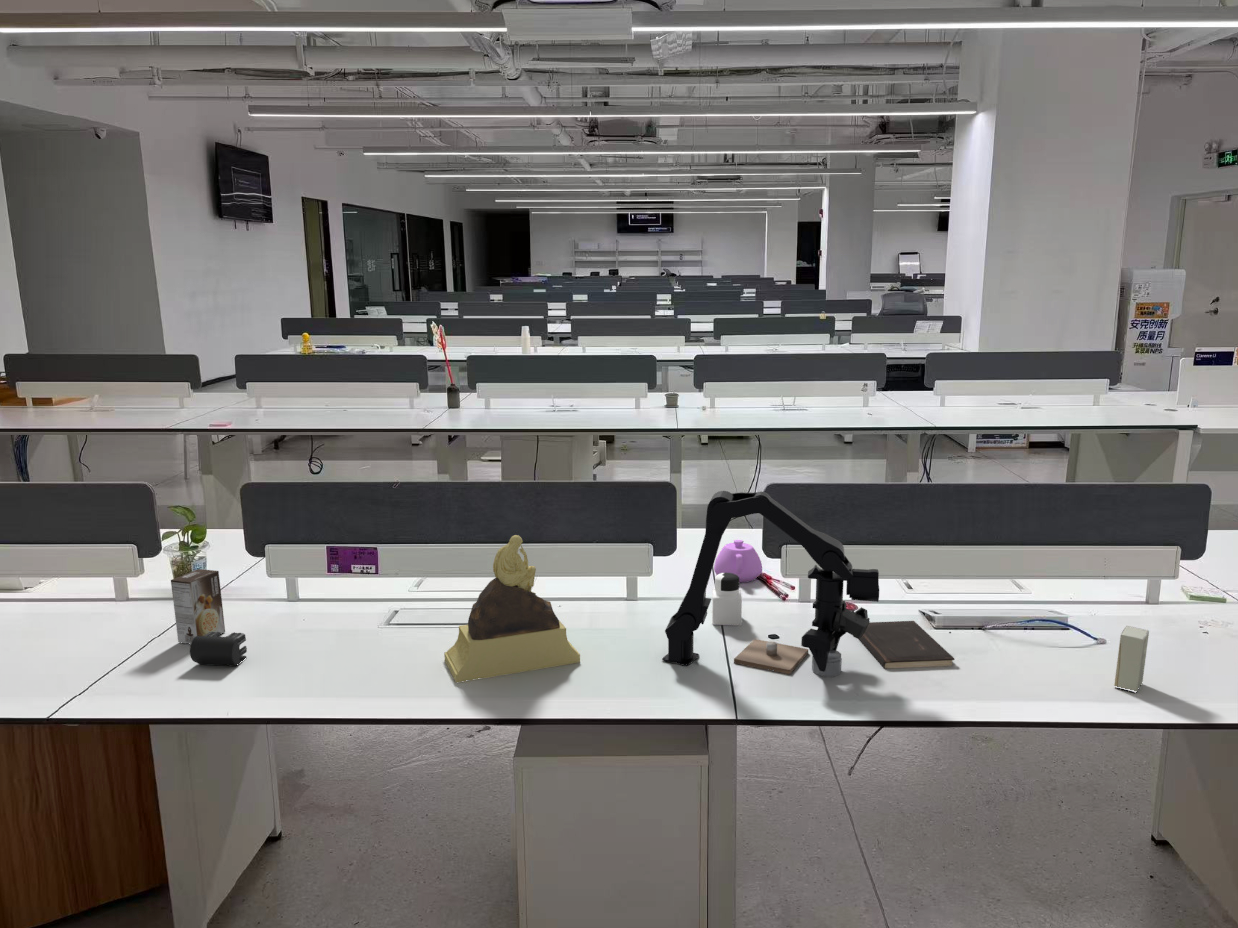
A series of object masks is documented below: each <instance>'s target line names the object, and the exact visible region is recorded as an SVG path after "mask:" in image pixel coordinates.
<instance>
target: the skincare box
mask: <svg viewBox="0 0 1238 928" xmlns="http://www.w3.org/2000/svg"><path fill="white" fill-rule="evenodd" d="M1149 636H1150V630H1149V629H1145V628H1139V627H1135V626H1130V625H1126V626H1125V627H1124V629H1123V630H1122V632H1121V633H1120V637H1119V644H1118V645H1119V646H1118V652H1117V661H1116V670H1115V679H1114V684H1113V687H1114V686H1117V687H1121V688H1125V689H1130V690H1134V691H1137V690H1138V688H1139V687H1140V685H1141V684H1142V685H1143V683H1144V682H1143V681H1144V673H1145V666H1146V659H1147V652H1148V651H1147V649H1148V645H1149V644H1148V643H1149ZM1142 682H1143V683H1142ZM1142 685H1141V686H1142ZM1140 688H1141V687H1140ZM1138 691H1139V690H1138Z"/></svg>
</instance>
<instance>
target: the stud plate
mask: <svg viewBox="0 0 1238 928" xmlns="http://www.w3.org/2000/svg"><path fill="white" fill-rule="evenodd" d="M808 654H809V648H806V647H799V646H794V645H788V644H784V643H783V644H782V643H779V642H776V641H772V640H771V641H767V640H761V639H757V638H754V639H753V640H752V641H751V642H750V643H749V644H748V645H747V646H746V647H745V648H743V650H742V651H741V652H739V653H738V654H737V655H736V656H735V657H734V658H733V664H737V665H743V666H746V667H752V668H756V667H758V668H757V669H761V668H763V669H762V670H766V669H769V670H768V671H771V670H774V671H773V672H776V671H777V672H776V673H780V672H781V673H782V674H784V675H785V674H786V675H790V674H792V673H793V671H794V670H795V669H796V668H797V667H798V666H799V664H800V663H801V662H802V661H803V660H804V659H805V658H806V656H808Z"/></svg>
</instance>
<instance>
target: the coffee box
mask: <svg viewBox="0 0 1238 928" xmlns="http://www.w3.org/2000/svg"><path fill="white" fill-rule="evenodd" d="M170 585H171V586H170V587H171V594H172V600H173V609H174V618H175V619H174V620H175V626H176V634H177V642H182V643H190V644H191V643H192V641H193V639H194V638H195V637H196V636H204V635H206V634H207V633H209V632H221V635H223V634H225V633H226V627H225V625H226V624H225V618H224V617H225V616H224V609H223V598H222V591H221V581H220V571H219V570H211V569H202V568H201V569H200V568H199V569H196V570H193V571H189V572H188V573H185V574H183V575H181V576H178V577H175V578H173V579H170ZM224 632H225V633H224ZM222 633H223V634H222ZM182 643H181V644H182Z"/></svg>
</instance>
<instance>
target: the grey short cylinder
mask: <svg viewBox="0 0 1238 928" xmlns="http://www.w3.org/2000/svg"><path fill="white" fill-rule="evenodd" d="M811 659H812V661H811V670H812V673H814V674H815V675H817V676H819V677H826V678H834V677H837V676H840V675H841V673H842V653H841V652H840V651H838V650H833V649H832V650H830V651H829V655H828V660H827V664H826V669H825V671H824V672H823V671H820V670H819V668H818V666H817V664H816V662H815V659H814V657H813V655H812V658H811Z"/></svg>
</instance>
